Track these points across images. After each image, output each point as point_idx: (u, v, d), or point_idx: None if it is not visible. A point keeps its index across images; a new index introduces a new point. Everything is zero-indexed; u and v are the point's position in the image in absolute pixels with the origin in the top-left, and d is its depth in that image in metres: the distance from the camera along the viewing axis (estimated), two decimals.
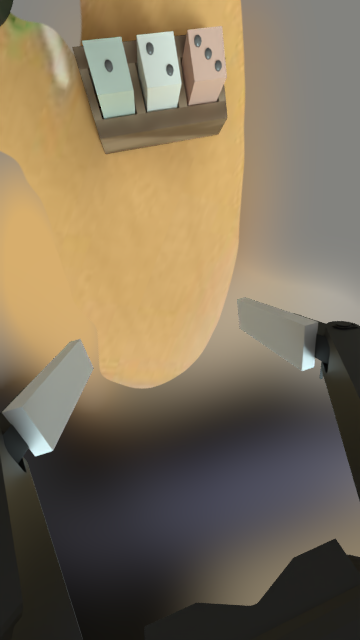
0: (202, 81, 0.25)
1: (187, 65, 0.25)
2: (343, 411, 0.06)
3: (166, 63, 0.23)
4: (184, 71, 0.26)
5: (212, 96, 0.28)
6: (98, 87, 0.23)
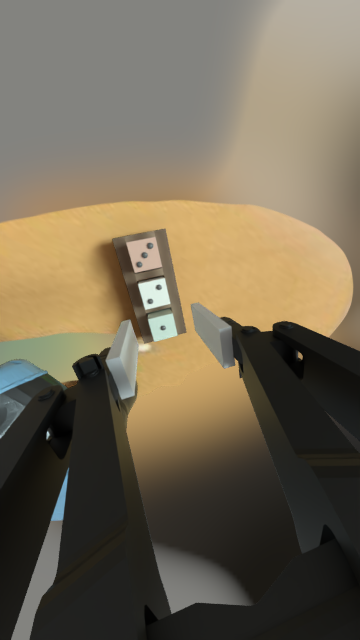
0: (160, 260, 0.30)
1: None
2: (259, 409, 0.06)
3: (155, 289, 0.32)
4: None
5: None
6: (174, 334, 0.35)
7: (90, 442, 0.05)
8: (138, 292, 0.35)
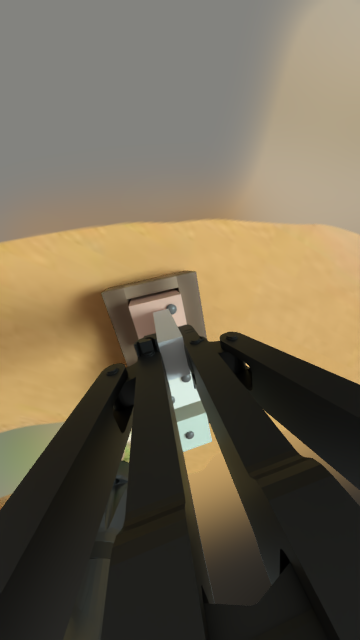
0: None
1: None
2: (213, 422, 0.06)
3: (179, 381, 0.18)
4: None
5: None
6: (206, 441, 0.21)
7: (149, 415, 0.05)
8: None
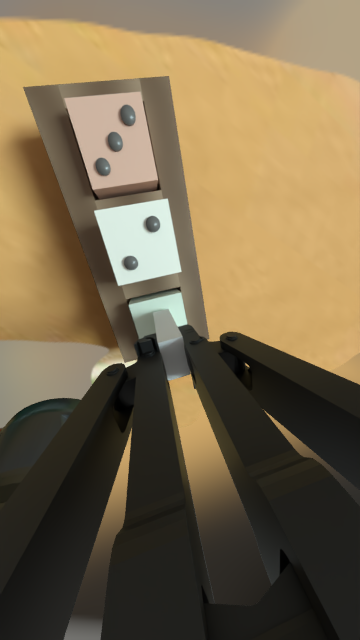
0: (154, 161, 0.13)
1: (123, 193, 0.14)
2: (213, 422, 0.06)
3: (143, 230, 0.12)
4: None
5: None
6: None
7: (149, 415, 0.05)
8: (105, 249, 0.15)
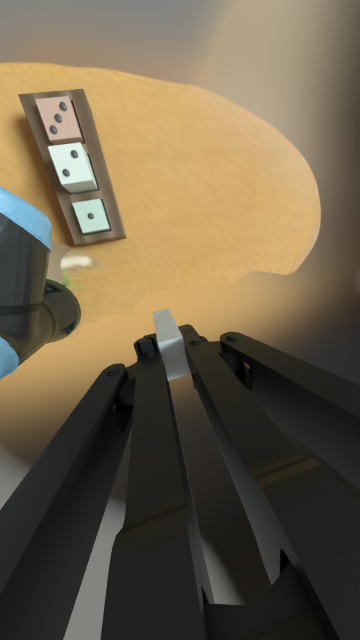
0: (78, 127, 0.28)
1: None
2: (213, 422, 0.06)
3: (70, 157, 0.27)
4: None
5: (77, 119, 0.30)
6: (104, 226, 0.33)
7: (149, 415, 0.05)
8: None
